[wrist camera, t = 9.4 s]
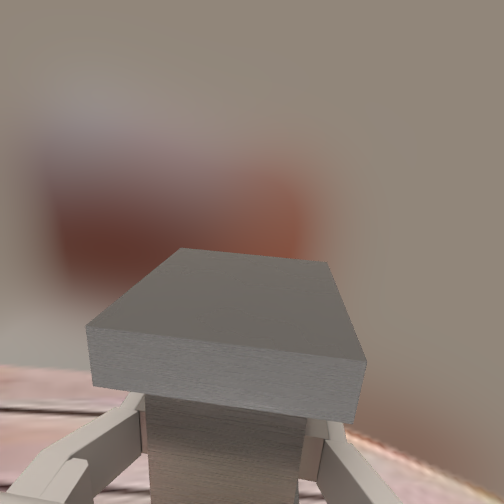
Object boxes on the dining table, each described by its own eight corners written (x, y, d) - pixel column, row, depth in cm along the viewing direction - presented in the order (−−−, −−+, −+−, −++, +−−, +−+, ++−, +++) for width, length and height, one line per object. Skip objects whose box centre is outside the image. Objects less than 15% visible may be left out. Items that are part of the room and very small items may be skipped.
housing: (123, 627, 9) (85, 325, 6) (182, 458, 14) (181, 247, 11) (297, 666, 9) (367, 362, 5) (293, 476, 14) (326, 262, 10)
